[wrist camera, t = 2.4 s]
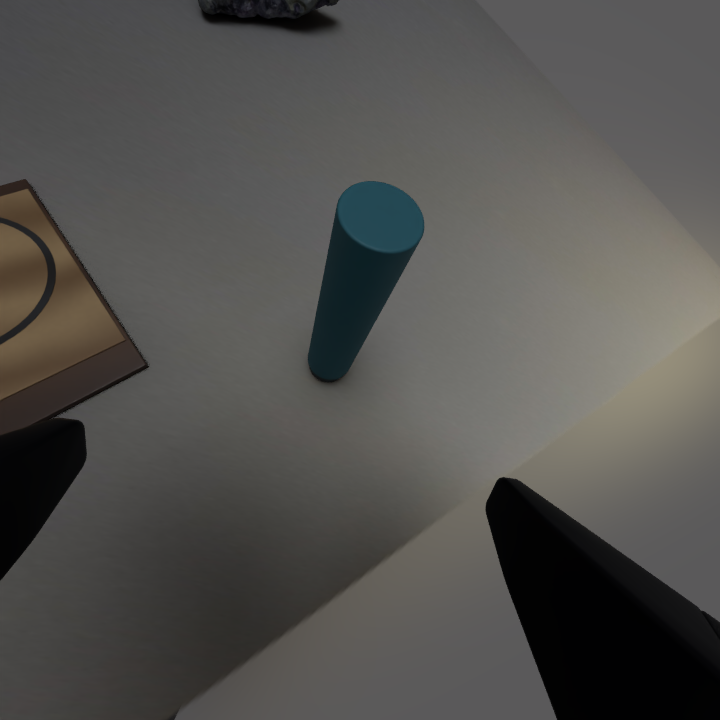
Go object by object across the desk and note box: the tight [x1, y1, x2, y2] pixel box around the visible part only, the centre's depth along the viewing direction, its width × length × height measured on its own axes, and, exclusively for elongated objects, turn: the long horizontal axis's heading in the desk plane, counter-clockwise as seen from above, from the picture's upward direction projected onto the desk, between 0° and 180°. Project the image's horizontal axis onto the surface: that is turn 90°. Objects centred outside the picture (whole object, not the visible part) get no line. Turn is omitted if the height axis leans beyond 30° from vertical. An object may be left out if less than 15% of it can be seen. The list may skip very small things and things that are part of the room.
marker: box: [308, 181, 424, 382], centre depth 16 cm, size 3×3×14 cm
